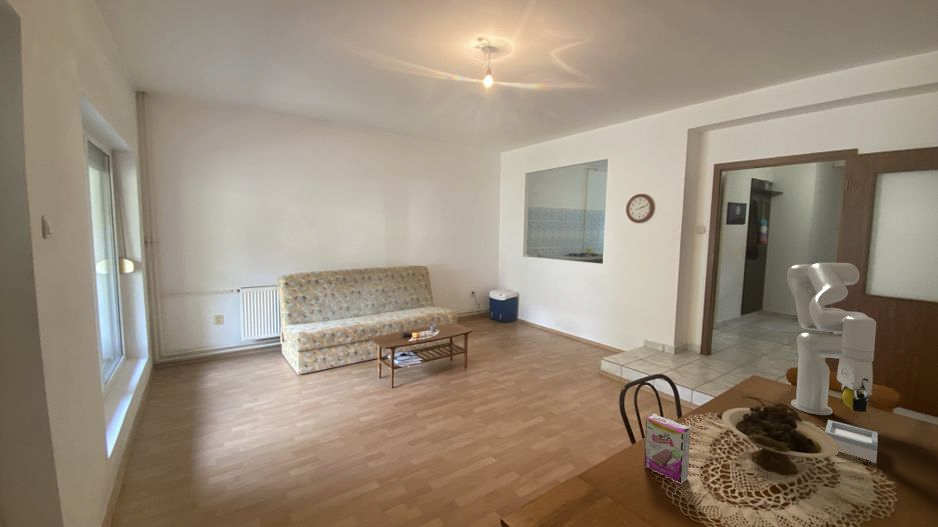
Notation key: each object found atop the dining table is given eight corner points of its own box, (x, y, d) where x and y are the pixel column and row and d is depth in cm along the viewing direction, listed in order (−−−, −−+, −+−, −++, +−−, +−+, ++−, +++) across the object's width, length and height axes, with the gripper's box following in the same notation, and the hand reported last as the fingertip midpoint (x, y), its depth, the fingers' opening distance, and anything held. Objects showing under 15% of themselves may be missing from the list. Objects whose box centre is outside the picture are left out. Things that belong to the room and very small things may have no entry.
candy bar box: (643, 468, 118) (644, 417, 117) (651, 462, 121) (653, 412, 120) (681, 487, 109) (683, 432, 108) (688, 480, 112) (691, 426, 111)
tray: (827, 434, 136) (828, 419, 135) (876, 448, 127) (877, 432, 127) (823, 447, 128) (825, 431, 127) (876, 463, 119) (877, 446, 119)
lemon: (858, 407, 128) (859, 384, 127) (869, 415, 123) (870, 391, 122) (837, 405, 130) (838, 382, 129) (847, 412, 125) (848, 389, 124)
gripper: (828, 345, 134) (825, 394, 136) (858, 360, 118) (854, 416, 120) (855, 347, 132) (852, 397, 133) (890, 363, 116) (885, 420, 117)
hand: (853, 406), depth 126 cm, fingers closed on lemon, 5 cm apart
